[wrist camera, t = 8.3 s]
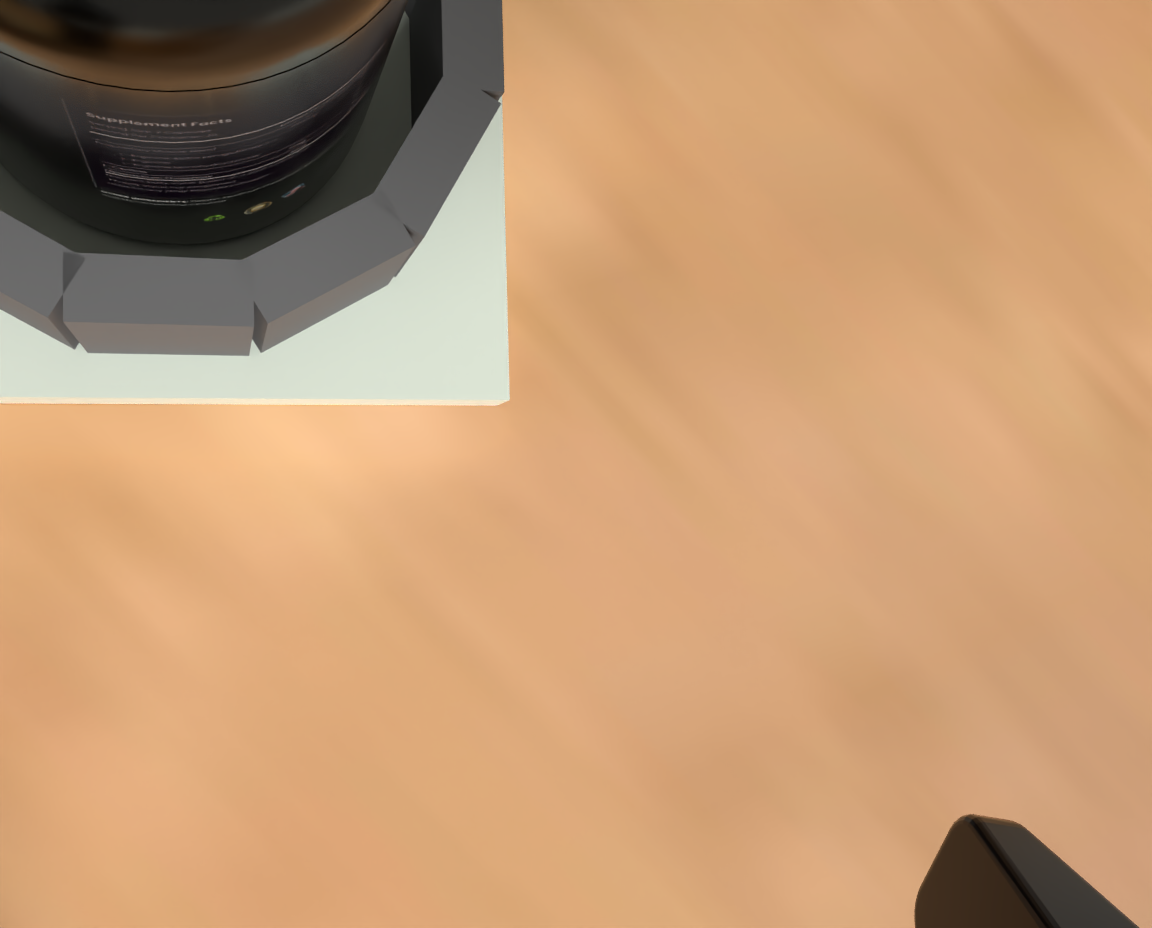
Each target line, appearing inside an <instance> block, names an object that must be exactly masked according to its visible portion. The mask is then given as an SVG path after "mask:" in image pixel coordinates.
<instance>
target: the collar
mask: <svg viewBox="0 0 1152 928" xmlns="http://www.w3.org/2000/svg"><path fill="white" fill-rule="evenodd" d="M405 12H406V14H407V16H408V18H409V32H410V79H411V126H412V129H411V131H410V133H409V134H408V136H407V138H406V139H405V141H404V143H403V145H402V146H401V148H400V150H399V151H398V153H397V155H396V156H395V158H394V160H393V161H392V163H391V165H390V166H389V168H388V170H387V172H386V173H385V175H384V177H383V178H382V180H381V182H380V183H379V185H378V187H377V188H376V190H375V192H374V193H373V194H371V195H369V196H367V197H365V198H363V199H361V200H359V201H357V202H355V203H353V204H351V205H350V206H348V207H346V208H344V209H342V210H340V211H338V212H336V213H334V214H332V215H330V216H328V217H326V218H324V219H322V220H320V221H318V222H316V223H314V224H312V225H310V226H308V227H306V228H304V229H302V230H300V231H298V232H296V233H294V234H292V235H290V236H288V237H286V238H284V239H282V240H280V241H278V242H276V243H274V244H272V245H271V246H269V247H267V248H265V249H263V250H261V251H259V252H257V253H255V254H253V255H251V256H249V257H247V258H245V259H243V260H231V259H209V258H186V257H163V256H141V255H118V254H95V253H75V252H73V251H71V250H69V249H68V248H66V247H64V246H62V245H61V244H59V243H57V242H55V241H54V240H52V239H50V238H48V237H46V236H45V235H43V234H41V233H39V232H38V231H36V230H34V229H32V228H31V227H29V226H27V225H25V224H23V223H22V222H20V221H18V220H16V219H15V218H13V217H11V216H9V215H7V214H6V213H4V212H2V211H0V310H2V311H4V312H6V313H8V314H10V315H12V316H13V317H15V318H17V319H19V320H21V321H23V322H24V323H26V324H28V325H30V326H32V327H34V328H36V329H37V330H39V331H41V332H43V333H45V334H47V335H48V336H50V337H52V338H54V339H56V340H58V341H60V342H61V343H63V344H65V345H67V346H69V347H71V348H72V349H74V350H75V349H76V347H77V345H78V344H79V343H80V344H81V345H82V346H83V348H84V349H85V350H86V352H87V353H109V354H165V355H222V356H249V354H250V348H251V342H252V339H253V341H254V343H255V344H256V346H257V348H258V349H259V351H260V353H262V352H264V351H266V350H268V349H270V348H272V347H273V346H275V345H277V344H279V343H281V342H283V341H285V340H286V339H288V338H290V337H292V336H294V335H296V334H298V333H299V332H301V331H303V330H305V329H307V328H309V327H311V326H313V325H314V324H316V323H318V322H320V321H322V320H324V319H326V318H327V317H329V316H331V315H333V314H335V313H337V312H339V311H340V310H342V309H344V308H346V307H348V306H350V305H352V304H353V303H355V302H357V301H359V300H361V299H363V298H365V297H366V296H368V295H370V294H372V293H374V292H376V291H378V290H380V289H381V288H383V287H385V286H387V285H388V284H389V283H390V281H391V280H392V278H393V277H396V276H397V275H398V273H399V272H400V271H401V269H402V268H403V266H404V265H405V264H406V262H407V261H408V259H409V258H410V257H411V255H412V254H413V252H414V251H415V250H416V248H417V247H418V245H419V244H420V243H421V241H422V240H423V238H424V237H425V235H426V234H427V232H428V230H429V228H430V227H431V225H432V223H433V221H434V220H435V218H436V216H437V214H438V213H439V211H440V209H441V207H442V206H443V204H444V202H445V201H446V199H447V197H448V195H449V194H450V192H451V190H452V188H453V187H454V185H455V183H456V181H457V180H458V178H459V176H460V174H461V173H462V171H463V169H464V168H465V166H466V164H467V162H468V161H469V159H470V157H471V155H472V154H473V152H474V150H475V148H476V147H477V145H478V143H479V141H480V140H481V138H482V136H483V135H484V133H485V131H486V129H487V128H488V126H489V124H490V122H491V121H492V119H493V117H494V115H495V114H496V112H497V110H498V108H499V107H500V105H501V103H500V102H498V100H499V99H500V97H501V96H502V94H503V93H504V63H503V23H502V0H408V3H407V5H406V8H405Z"/></svg>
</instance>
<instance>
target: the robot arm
mask: <svg viewBox="0 0 1152 928" xmlns="http://www.w3.org/2000/svg"><path fill="white" fill-rule="evenodd" d="M915 928H1139V927H1138V926H1137V925H1136V924H1134V923H1133V922H1132V921H1131V920H1130V919H1129V918H1128V917H1126V916H1125V915H1124V914H1123V913H1122V912H1121V911H1120V910H1118V909H1117V908H1116V907H1115V906H1114V905H1113V904H1112V903H1110V902H1109V901H1108V900H1107V899H1106V898H1105V897H1104V896H1102V895H1101V894H1100V893H1099V892H1098V891H1097V890H1096V889H1094V888H1093V887H1092V886H1091V885H1090V884H1089V883H1088V882H1087V881H1085V880H1084V879H1083V878H1082V877H1081V876H1080V875H1079V874H1077V873H1076V872H1075V871H1074V870H1073V869H1072V868H1071V867H1069V866H1068V865H1067V864H1066V863H1065V862H1064V861H1063V860H1061V859H1060V858H1059V857H1058V856H1057V855H1056V854H1055V853H1053V852H1052V851H1051V850H1050V849H1049V848H1048V847H1047V846H1045V845H1044V844H1043V843H1042V842H1041V841H1040V840H1039V839H1037V838H1036V837H1035V836H1034V835H1033V834H1032V833H1031V832H1029V831H1028V830H1027V829H1026V828H1025V827H1023V826H1022V825H1020V824H1018V823H1016V822H1014V821H1010V820H1005V819H999V818H993V817H986V816H980V815H974V814H970V815H964V816H962V817H960V818H959V819H958V820H957V821H955V822H954V824H953V825H952V827H951V828H950V830H949V832H948V834H947V836H946V838H945V840H944V842H943V844H942V846H941V848H940V850H939V852H938V853H937V855H936V857H935V859H934V861H933V863H932V865H931V867H930V869H929V871H928V873H927V875H926V877H925V879H924V881H923V883H922V885H921V886H920V889H919V892H918V895H917V899H916V903H915Z"/></svg>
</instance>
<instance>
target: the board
mask: <svg viewBox="0 0 1152 928" xmlns="http://www.w3.org/2000/svg"><path fill="white" fill-rule="evenodd" d="M498 102H500V103H501V105H500V107H499V108H498V110H497V112H496V114H495V115H494V117H493V119H492V121H491V122H490V124H489V126H488V128H487V129H486V131H485V133H484V135H483V136H482V138H481V140H480V141H479V143H478V145H477V147H476V148H475V150H474V152H473V154H472V155H471V157H470V159H469V161H468V162H467V164H466V166H465V168H464V169H463V171H462V173H461V174H460V176H459V178H458V180H457V181H456V183H455V185H454V187H453V188H452V190H451V192H450V194H449V195H448V197H447V199H446V201H445V202H444V204H443V206H442V207H441V209H440V211H439V213H438V214H437V216H436V218H435V220H434V221H433V223H432V225H431V227H430V228H429V230H428V232H427V234H426V235H425V237H424V238H423V240H422V241H421V243H420V244H419V245H418V247H417V248H416V250H415V251H414V252H413V254H412V255H411V257H410V258H409V259H408V261H407V262H406V264H405V265H404V266H403V268H402V269H401V271H400V272H399V273H398V275H397V276H396V277H393V278H392V280H391V281H390V283H389V284H388V285H387V286H385V287H383V288H381V289H380V290H378V291H376V292H374V293H372V294H370V295H368V296H366V297H365V298H363V299H361V300H359V301H357V302H355V303H353V304H352V305H350V306H348V307H346V308H344V309H342V310H340V311H339V312H337V313H335V314H333V315H331V316H329V317H327V318H326V319H324V320H322V321H320V322H318V323H316V324H314V325H313V326H311V327H309V328H307V329H305V330H303V331H301V332H299V333H298V334H296V335H294V336H292V337H290V338H288V339H286V340H285V341H283V342H281V343H279V344H277V345H275V346H273V347H272V348H270V349H268V350H266V351H264V352H262V353H260V351H259V349H258V348H257V346H256V344H255V343H254V341H253V339H252V342H251V348H250V354H249V356H222V355H165V354H109V353H87V352H86V350H85V349H84V348H83V346H82V345H81V344H80V343H79V344H78V345H77V347H76V349H75V350H74V349H72V348H71V347H69V346H67V345H65V344H63V343H61V342H60V341H58V340H56V339H54V338H52V337H50V336H48V335H47V334H45V333H43V332H41V331H39V330H37V329H36V328H34V327H32V326H30V325H28V324H26V323H24V322H23V321H21V320H19V319H17V318H15V317H13V316H12V315H10V314H8V313H6V312H4V311H2V310H0V403H46V404H269V405H492V406H497V405H499V404H502V403H504V402H506V401H509V400H510V396H509V357H508V317H507V277H506V237H505V197H504V157H503V117H502V96H501V97H500V99H499V100H498ZM411 129H412V126H411V79H410V32H409V18H408V16H407V14H406V12H405V11H404V14H403V16H402V19H401V22H400V24H399V27H398V30H397V33H396V35H395V38H394V41H393V43H392V46H391V49H390V51H389V54H388V57H387V60H386V62H385V65H384V68H383V70H382V73H381V76H380V79H379V81H378V84H377V87H376V89H375V92H374V95H373V97H372V100H371V103H370V105H369V108H368V111H367V113H366V116H365V119H364V121H363V123H362V125H361V128H360V130H359V132H358V135H357V137H356V139H355V141H354V143H353V145H352V147H351V149H350V151H349V153H348V154H347V156H346V157H345V159H344V161H343V162H342V164H341V165H340V167H339V168H338V170H337V171H336V172H335V173H334V175H333V176H332V177H331V178H330V180H329V181H328V182H327V183H326V184H325V186H324V187H323V188H322V189H321V190H319V191H318V192H317V193H316V194H315V195H314V196H313V197H312V198H311V199H310V200H309V201H307V202H306V203H305V204H304V205H302V206H301V207H300V208H299V209H297V210H296V211H294V212H293V213H291V214H290V215H288V216H286V217H285V218H283V219H282V220H280V221H278V222H276V223H274V224H272V225H270V226H268V227H266V228H263V229H261V230H258V231H256V232H253V233H250V234H248V235H244V236H241V237H237V238H233V239H230V240H225V241H219V242H213V243H206V244H193V245H167V244H158V243H149V242H143V241H138V240H133V239H128V238H124V237H120V236H117V235H113V234H110V233H107V232H104V231H101V230H98V229H96V228H93V227H91V226H88V225H86V224H83V223H81V222H79V221H77V220H75V219H73V218H71V217H69V216H67V215H65V214H64V213H62V212H60V211H59V210H57V209H55V208H54V207H52V206H51V205H49V204H47V203H46V202H44V201H43V200H42V199H40V198H39V197H38V196H36V195H35V194H34V193H32V192H31V191H30V190H28V189H27V188H26V187H25V186H24V185H23V184H21V183H20V182H19V181H18V180H17V179H16V178H15V177H14V176H12V175H11V174H10V173H9V172H8V171H7V170H6V169H5V168H4V167H3V166H2V165H1V163H0V211H2V212H4V213H6V214H7V215H9V216H11V217H13V218H15V219H16V220H18V221H20V222H22V223H23V224H25V225H27V226H29V227H31V228H32V229H34V230H36V231H38V232H39V233H41V234H43V235H45V236H46V237H48V238H50V239H52V240H54V241H55V242H57V243H59V244H61V245H62V246H64V247H66V248H68V249H69V250H71V251H73V252H75V253H95V254H118V255H141V256H163V257H186V258H209V259H231V260H243V259H245V258H247V257H249V256H251V255H253V254H255V253H257V252H259V251H261V250H263V249H265V248H267V247H269V246H271V245H272V244H274V243H276V242H278V241H280V240H282V239H284V238H286V237H288V236H290V235H292V234H294V233H296V232H298V231H300V230H302V229H304V228H306V227H308V226H310V225H312V224H314V223H316V222H318V221H320V220H322V219H324V218H326V217H328V216H330V215H332V214H334V213H336V212H338V211H340V210H342V209H344V208H346V207H348V206H350V205H351V204H353V203H355V202H357V201H359V200H361V199H363V198H365V197H367V196H369V195H371V194H373V193H374V192H375V190H376V188H377V187H378V185H379V183H380V182H381V180H382V178H383V177H384V175H385V173H386V172H387V170H388V168H389V166H390V165H391V163H392V161H393V160H394V158H395V156H396V155H397V153H398V151H399V150H400V148H401V146H402V145H403V143H404V141H405V139H406V138H407V136H408V134H409V133H410V131H411Z"/></svg>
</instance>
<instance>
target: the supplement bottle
mask: <svg viewBox="0 0 1152 928" xmlns="http://www.w3.org/2000/svg"><path fill="white" fill-rule="evenodd" d="M407 3H408V0H0V163H1V165H2V166H3V167H4V168H5V169H6V170H7V171H8V172H9V173H10V174H11V175H12V176H14V177H15V178H16V179H17V180H18V181H19V182H20V183H21V184H23V185H24V186H25V187H26V188H27V189H28V190H30V191H31V192H32V193H34V194H35V195H36V196H38V197H39V198H40V199H42V200H43V201H44V202H46V203H47V204H49V205H51V206H52V207H54V208H55V209H57V210H59V211H60V212H62V213H64V214H65V215H67V216H69V217H71V218H73V219H75V220H77V221H79V222H81V223H83V224H86V225H88V226H91V227H93V228H96V229H98V230H101V231H104V232H107V233H110V234H113V235H117V236H120V237H124V238H128V239H133V240H138V241H143V242H149V243H158V244H167V245H193V244H206V243H213V242H219V241H225V240H230V239H233V238H237V237H241V236H244V235H248V234H250V233H253V232H256V231H258V230H261V229H263V228H266V227H268V226H270V225H272V224H274V223H276V222H278V221H280V220H282V219H283V218H285V217H286V216H288V215H290V214H291V213H293V212H294V211H296V210H297V209H299V208H300V207H301V206H302V205H304V204H305V203H306V202H307V201H309V200H310V199H311V198H312V197H313V196H314V195H315V194H316V193H317V192H318V191H319V190H321V189H322V188H323V187H324V186H325V184H326V183H327V182H328V181H329V180H330V178H331V177H332V176H333V175H334V173H335V172H336V171H337V170H338V168H339V167H340V165H341V164H342V162H343V161H344V159H345V157H346V156H347V154H348V153H349V151H350V149H351V147H352V145H353V143H354V141H355V139H356V137H357V135H358V132H359V130H360V128H361V125H362V123H363V121H364V119H365V116H366V113H367V111H368V108H369V105H370V103H371V100H372V97H373V95H374V92H375V89H376V87H377V84H378V81H379V79H380V76H381V73H382V70H383V68H384V65H385V62H386V60H387V57H388V54H389V51H390V49H391V46H392V43H393V41H394V38H395V35H396V33H397V30H398V27H399V24H400V22H401V19H402V16H403V14H404V11H405V8H406V5H407Z"/></svg>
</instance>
